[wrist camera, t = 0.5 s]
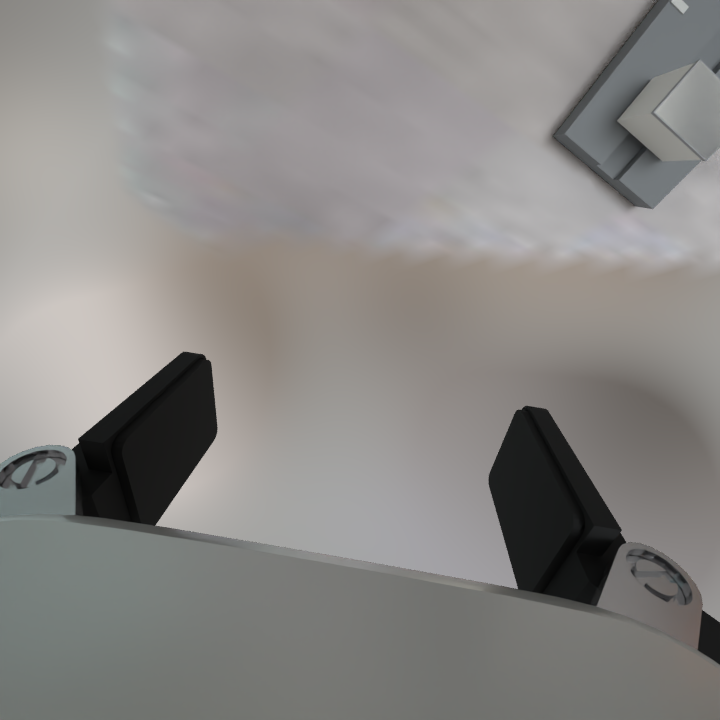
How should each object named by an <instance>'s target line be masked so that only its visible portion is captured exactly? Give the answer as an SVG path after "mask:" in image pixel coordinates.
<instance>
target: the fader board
mask: <svg viewBox="0 0 720 720" xmlns="http://www.w3.org/2000/svg"><path fill="white" fill-rule="evenodd" d="M699 59H701V60H702V61H703V62H704V63H705V64H706V65H707V66H708V67H709V68H710V69H711V70H712V71H713V72H714V73H715V74H716V75H717V76H718V77H719V78H720V0H658V2H657V3H656V4H655V5H654V7H653V8H652V9H651V11H650V12H649V13H648V14H647V16H646V17H645V18H644V20H643V21H642V22H641V23H640V25H639V26H638V27H637V29H636V30H635V31H634V32H633V34H632V35H631V36H630V38H629V39H628V40H627V42H626V43H625V44H624V45H623V47H622V48H621V49H620V51H619V52H618V53H617V54H616V56H615V57H614V58H613V60H612V61H611V62H610V63H609V65H608V66H607V67H606V69H605V70H604V71H603V72H602V74H601V75H600V76H599V78H598V79H597V80H596V82H595V83H594V84H593V85H592V87H591V88H590V89H589V91H588V92H587V93H586V94H585V96H584V97H583V98H582V100H581V101H580V102H579V103H578V105H577V106H576V107H575V109H574V110H573V111H572V112H571V114H570V115H569V116H568V118H567V119H566V120H565V122H564V123H563V124H562V125H561V127H560V128H559V129H558V131H557V132H556V133H555V134H554V136H553V137H554V138H555V139H557V140H558V141H559V142H560V143H561V144H562V145H564V146H565V147H566V148H567V149H568V150H570V151H571V152H572V153H573V154H574V155H576V156H577V157H578V158H579V159H580V160H581V161H583V162H584V163H585V164H586V165H587V166H589V167H590V168H591V169H592V170H593V171H595V172H596V173H597V174H598V175H599V176H601V177H602V178H603V179H604V180H605V181H606V182H608V183H609V184H610V185H611V186H612V187H614V188H615V189H616V190H617V191H618V192H620V193H621V194H622V195H623V196H624V197H625V198H627V199H628V200H629V201H630V202H631V203H633V204H634V205H635V206H637V207H643V208H650V209H653V208H654V207H655V206H656V205H657V204H658V203H659V202H660V201H661V200H662V199H663V198H664V197H665V196H666V195H667V194H668V193H669V192H670V191H671V190H672V189H673V188H674V187H675V186H676V185H677V184H678V183H679V182H680V181H681V180H682V179H683V178H684V177H685V176H686V175H687V174H688V173H689V172H690V171H691V170H692V169H693V168H694V167H695V166H696V165H697V164H698V163H699V162H700V161H701V160H686V161H661V160H660V159H659V158H658V157H657V156H656V155H655V154H654V153H652V152H651V151H650V150H649V149H648V148H647V147H646V146H645V145H643V144H642V143H641V142H640V141H639V140H638V139H637V138H636V137H635V136H633V135H632V134H631V133H630V132H629V131H628V130H627V129H626V128H624V127H623V126H622V125H621V124H620V123H619V122H618V121H617V120H618V119H619V118H620V117H621V115H622V114H623V113H624V112H625V111H626V109H627V108H628V107H629V106H630V105H631V103H632V102H633V101H634V100H635V99H636V97H637V96H638V95H639V94H640V93H641V92H642V90H643V89H644V88H645V87H646V86H647V84H648V83H649V82H650V81H651V80H652V78H654V77H657V76H659V75H662V74H665V73H668V72H670V71H673V70H676V69H679V68H681V67H684V66H687V65H689V64H692V63H695V62H696V61H697V60H699Z"/></svg>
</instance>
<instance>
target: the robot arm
mask: <svg viewBox="0 0 720 720" xmlns="http://www.w3.org/2000/svg"><path fill="white" fill-rule="evenodd" d="M216 434H217V419H216V408H215V398H214V388H213V377H212V367H211V362H210V361H209V360H206V358H205V356H204V355H203V354H196V353H190V352H183V353H181V354H180V355H179V356H177V357H176V358H175V359H174V360H173V361H171V362H170V363H169V364H168V365H167V366H165V367H164V368H163V369H162V370H160V371H159V372H158V373H157V374H156V375H155V376H153V377H152V378H151V379H150V380H149V381H147V382H146V383H145V384H144V385H142V386H141V387H140V388H139V389H138V390H137V391H135V392H134V393H133V394H132V395H130V396H129V397H128V398H127V399H126V400H125V401H123V402H122V403H121V404H120V405H118V406H117V407H116V408H115V409H114V410H113V411H111V412H110V413H109V414H108V415H106V416H105V417H104V418H103V419H102V420H100V421H99V422H98V423H97V424H96V425H94V426H93V427H92V428H91V429H90V430H88V431H87V432H86V433H85V434H83V435H82V436H81V437H80V438H79V439H78V440H79V444H78V445H76V446H75V447H74V448H73V449H72V450H71V449H70V448H68V447H65V446H61V445H46V446H41V447H35V448H32V449H29V450H26V451H23V452H21V453H19V454H16V455H14V456H12V457H10V458H8V459H7V460H5V461H4V462H2V463H1V464H0V720H720V622H718V621H717V620H715V619H714V618H713V617H711V616H710V615H708V614H707V613H705V612H704V611H703V610H702V605H703V604H702V597H701V594H700V592H699V590H698V588H697V586H696V584H695V583H694V581H693V580H692V579H691V578H690V576H689V575H688V574H687V573H686V572H685V571H684V570H683V569H682V568H681V567H680V566H679V565H678V564H677V563H676V562H674V561H673V560H672V559H670V558H669V557H668V556H666V555H665V554H663V553H662V552H660V551H658V550H655V549H654V548H652V547H650V546H647V545H644V544H641V543H633V542H628V543H626V541H625V540H624V538H623V536H622V535H621V533H620V532H621V528H620V527H619V525H618V523H617V522H616V520H615V519H614V517H613V515H612V514H611V512H610V510H609V509H608V507H607V506H606V504H605V502H604V501H603V499H602V497H601V496H600V494H599V492H598V491H597V489H596V488H595V486H594V484H593V483H592V481H591V479H590V478H589V476H588V475H587V473H586V472H585V470H584V468H583V467H582V465H581V463H580V462H579V460H578V459H577V457H576V455H575V454H574V452H573V450H572V449H571V447H570V446H569V444H568V442H567V441H566V439H565V437H564V436H563V434H562V433H561V431H560V429H559V428H558V426H557V425H556V423H555V421H554V420H553V418H552V416H551V415H550V413H549V412H548V410H546V409H542V408H537V407H530V406H525V407H523V409H522V410H517V411H516V412H515V414H514V417H513V419H512V422H511V424H510V426H509V429H508V431H507V433H506V436H505V438H504V440H503V443H502V446H501V448H500V450H499V452H498V455H497V457H496V460H495V462H494V464H493V467H492V469H491V471H490V474H489V487H490V491H491V494H492V498H493V501H494V505H495V508H496V512H497V515H498V519H499V522H500V526H501V530H502V533H503V536H504V540H505V543H506V547H507V550H508V554H509V558H510V561H511V564H512V568H513V572H514V575H515V579H516V582H517V586H518V589H514V588H509V587H504V586H498V585H494V584H488V583H483V582H477V581H472V580H466V579H461V578H455V577H450V576H444V575H438V574H433V573H427V572H421V571H416V570H411V569H405V568H400V567H394V566H388V565H383V564H376V563H371V562H365V561H360V560H354V559H348V558H343V557H337V556H331V555H326V554H320V553H314V552H308V551H302V550H296V549H291V548H285V547H279V546H273V545H267V544H261V543H256V542H250V541H243V540H238V539H232V538H226V537H220V536H214V535H208V534H202V533H196V532H191V531H184V530H179V529H172V528H167V527H160V526H155V525H156V523H157V522H158V521H159V519H160V518H161V516H162V515H163V513H164V512H165V510H166V509H167V508H168V506H169V504H170V503H171V502H172V500H173V498H174V497H175V496H176V495H177V493H178V492H179V490H180V489H181V487H182V486H183V484H184V483H185V482H186V480H187V479H188V477H189V476H190V474H191V473H192V471H193V470H194V468H195V467H196V466H197V464H198V463H199V461H200V460H201V458H202V457H203V456H204V454H205V453H206V451H207V450H208V448H209V447H210V445H211V444H212V443H213V441H214V439H215V437H216Z"/></svg>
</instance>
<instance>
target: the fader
mask: <svg viewBox="0 0 720 720" xmlns="http://www.w3.org/2000/svg"><path fill="white" fill-rule="evenodd" d="M617 121H618V122H619V123H620V124H621V125H622V126H623V127H624V128H626V129H627V130H628V131H629V132H630V133H631V134H632V135H633V136H635V137H636V138H637V139H638V140H639V141H640V142H641V143H642V144H643V145H645V146H646V147H647V148H648V149H649V150H650V151H651V152H652V153H654V154H655V155H656V156H657V157H658V158H659V159H660V160H661V161H686V160H702V161H707V160H708V159H709V158H710V157H711V156H712V155H713V154H714V153H715V152H716V151H717V150H718V149H719V148H720V78H719V77H718V76H717V75H716V74H715V73H714V72H713V71H712V70H711V69H710V68H709V67H708V66H707V65H706V64H705V63H704V62H703V61H702V60H701V59H699V60H697V61H696V62H695V63H692V64H689V65H687V66H684V67H681V68H679V69H676V70H673V71H670V72H668V73H665V74H662V75H659V76H657V77H654V78H652V80H651V81H650V82H649V83H648V84H647V86H646V87H645V88H644V89H643V90H642V92H641V93H640V94H639V95H638V96H637V97H636V99H635V100H634V101H633V102H632V103H631V105H630V106H629V107H628V108H627V109H626V111H625V112H624V113H623V114H622V115H621V117H620V118H619V119H618V120H617Z"/></svg>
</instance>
